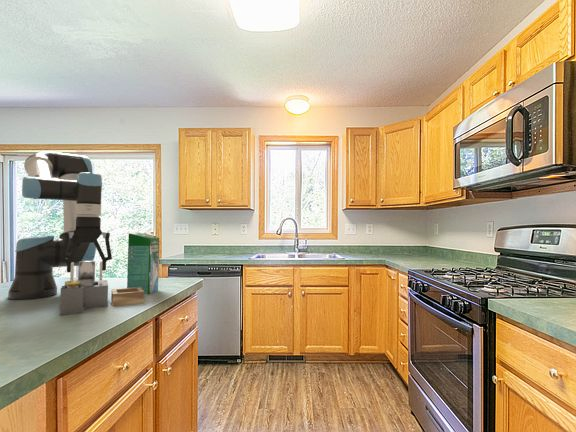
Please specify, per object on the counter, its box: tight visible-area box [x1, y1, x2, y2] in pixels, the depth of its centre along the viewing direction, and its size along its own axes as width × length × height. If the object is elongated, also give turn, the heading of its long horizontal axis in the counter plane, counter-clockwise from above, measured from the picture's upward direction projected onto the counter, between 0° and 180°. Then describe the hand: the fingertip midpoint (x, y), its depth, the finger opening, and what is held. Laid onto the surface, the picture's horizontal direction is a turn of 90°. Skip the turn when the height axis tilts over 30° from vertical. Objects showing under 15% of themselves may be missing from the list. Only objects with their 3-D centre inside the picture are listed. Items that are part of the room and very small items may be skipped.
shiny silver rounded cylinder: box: [77, 260, 96, 286], centre depth 113 cm, size 5×5×12 cm
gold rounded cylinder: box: [64, 280, 81, 288], centre depth 103 cm, size 4×4×7 cm
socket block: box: [59, 279, 109, 316], centre depth 111 cm, size 19×13×8 cm
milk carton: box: [126, 232, 160, 296], centre depth 135 cm, size 9×9×25 cm
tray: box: [110, 287, 145, 307], centre depth 118 cm, size 10×10×4 cm
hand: (86, 280), depth 113 cm, fingers open, 8 cm apart
